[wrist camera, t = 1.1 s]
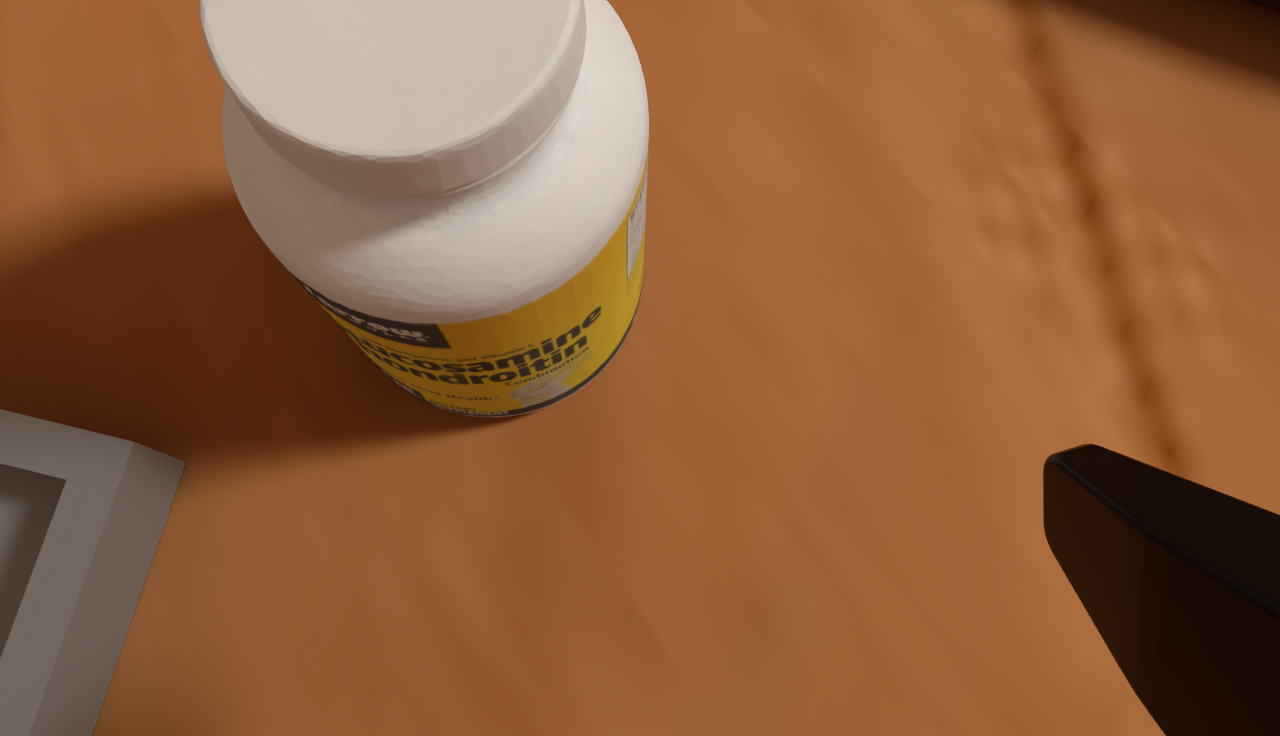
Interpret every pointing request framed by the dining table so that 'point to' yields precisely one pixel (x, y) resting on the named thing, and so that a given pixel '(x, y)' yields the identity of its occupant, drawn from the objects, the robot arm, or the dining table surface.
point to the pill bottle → (446, 181)
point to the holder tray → (71, 565)
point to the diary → (1270, 3)
